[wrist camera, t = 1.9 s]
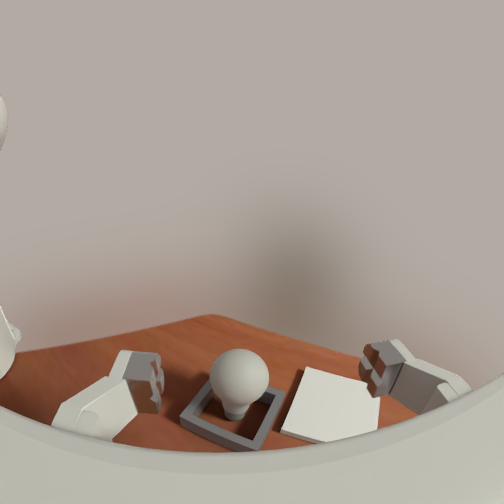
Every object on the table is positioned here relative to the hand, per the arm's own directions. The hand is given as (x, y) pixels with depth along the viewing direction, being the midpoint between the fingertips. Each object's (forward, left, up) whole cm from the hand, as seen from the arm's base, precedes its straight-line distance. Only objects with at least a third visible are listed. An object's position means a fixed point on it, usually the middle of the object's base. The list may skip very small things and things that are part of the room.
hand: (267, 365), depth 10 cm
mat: (+7, +17, -23) cm, 29 cm away
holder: (-5, +11, -23) cm, 25 cm away
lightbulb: (-5, +11, -23) cm, 26 cm away
